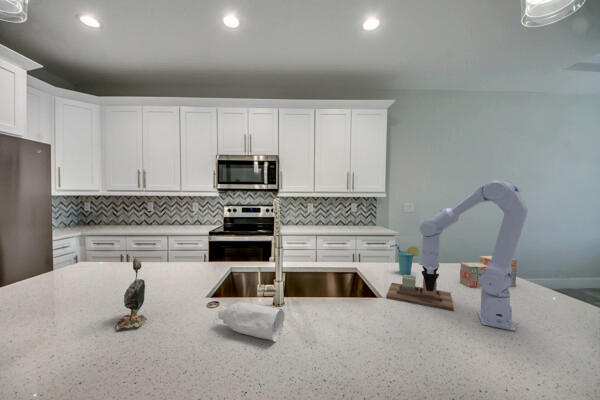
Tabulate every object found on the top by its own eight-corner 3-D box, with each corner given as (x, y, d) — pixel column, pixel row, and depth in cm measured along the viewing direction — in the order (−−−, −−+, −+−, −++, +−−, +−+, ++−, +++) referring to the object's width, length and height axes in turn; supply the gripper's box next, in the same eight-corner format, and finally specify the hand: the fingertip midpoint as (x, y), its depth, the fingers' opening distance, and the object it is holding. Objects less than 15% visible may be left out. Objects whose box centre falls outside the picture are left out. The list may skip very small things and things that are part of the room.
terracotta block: (436, 299, 93) (436, 283, 93) (422, 296, 95) (423, 280, 95) (436, 294, 97) (436, 279, 97) (423, 292, 99) (423, 277, 99)
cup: (393, 276, 121) (393, 245, 121) (386, 271, 129) (387, 242, 128) (421, 276, 122) (421, 245, 122) (412, 271, 130) (413, 242, 129)
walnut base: (453, 311, 86) (454, 290, 85) (386, 298, 96) (386, 279, 95) (450, 294, 100) (450, 277, 100) (391, 284, 110) (392, 269, 110)
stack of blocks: (470, 288, 108) (470, 259, 107) (459, 283, 114) (460, 256, 113) (516, 287, 109) (517, 259, 109) (503, 282, 116) (504, 255, 115)
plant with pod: (154, 312, 82) (154, 251, 82) (138, 331, 71) (137, 260, 70) (127, 314, 81) (126, 252, 80) (106, 333, 69) (105, 261, 69)
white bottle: (230, 319, 78) (230, 294, 78) (285, 332, 71) (285, 304, 71) (212, 332, 71) (212, 304, 71) (272, 348, 64) (272, 317, 64)
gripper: (419, 247, 104) (418, 280, 104) (418, 254, 91) (417, 292, 91) (439, 249, 101) (438, 283, 101) (440, 257, 88) (439, 295, 88)
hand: (429, 287), depth 96 cm, fingers open, 7 cm apart
